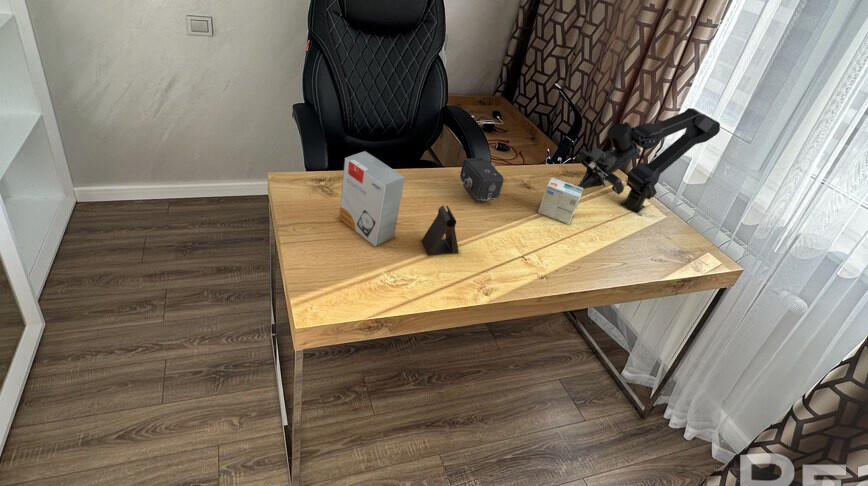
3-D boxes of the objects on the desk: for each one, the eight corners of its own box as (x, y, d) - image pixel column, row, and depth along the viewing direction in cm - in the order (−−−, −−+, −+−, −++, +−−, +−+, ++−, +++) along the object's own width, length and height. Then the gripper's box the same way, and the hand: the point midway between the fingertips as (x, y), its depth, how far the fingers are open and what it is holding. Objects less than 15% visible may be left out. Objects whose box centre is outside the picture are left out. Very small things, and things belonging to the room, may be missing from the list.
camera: (499, 207, 164) (478, 179, 174) (511, 180, 157) (488, 151, 167) (471, 211, 160) (450, 181, 170) (481, 182, 153) (460, 153, 162)
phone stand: (427, 255, 137) (435, 219, 130) (421, 241, 141) (428, 205, 135) (458, 253, 140) (468, 218, 133) (451, 239, 144) (460, 205, 137)
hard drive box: (337, 218, 143) (343, 156, 132) (358, 210, 148) (365, 149, 137) (375, 247, 136) (384, 184, 124) (395, 237, 141) (406, 175, 130)
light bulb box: (573, 215, 166) (584, 187, 160) (569, 225, 161) (581, 197, 155) (541, 203, 169) (551, 175, 163) (536, 213, 164) (547, 184, 157)
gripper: (592, 127, 161) (552, 159, 163) (632, 156, 147) (588, 191, 149) (602, 148, 169) (564, 178, 170) (641, 178, 155) (599, 210, 157)
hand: (578, 188), depth 162 cm, fingers closed
